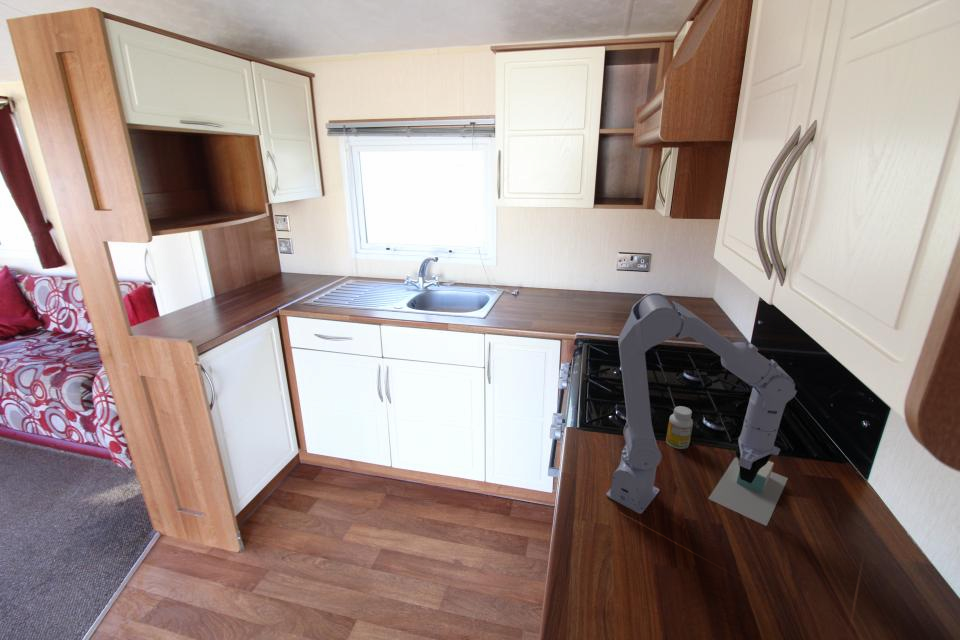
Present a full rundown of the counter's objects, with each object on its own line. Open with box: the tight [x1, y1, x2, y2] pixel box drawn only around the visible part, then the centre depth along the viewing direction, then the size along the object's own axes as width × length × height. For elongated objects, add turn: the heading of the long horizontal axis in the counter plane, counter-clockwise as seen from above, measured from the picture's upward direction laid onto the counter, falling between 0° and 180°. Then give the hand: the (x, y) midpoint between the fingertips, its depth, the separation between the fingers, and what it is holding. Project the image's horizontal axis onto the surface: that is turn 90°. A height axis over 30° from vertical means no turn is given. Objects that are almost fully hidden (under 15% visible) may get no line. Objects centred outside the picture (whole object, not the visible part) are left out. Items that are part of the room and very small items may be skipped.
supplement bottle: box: [665, 405, 694, 450], centre depth 114 cm, size 5×5×10 cm
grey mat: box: [707, 456, 789, 527], centre depth 100 cm, size 19×11×1 cm, turn 137°
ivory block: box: [736, 460, 774, 493], centre depth 101 cm, size 4×5×7 cm
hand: (746, 479), depth 94 cm, fingers closed
